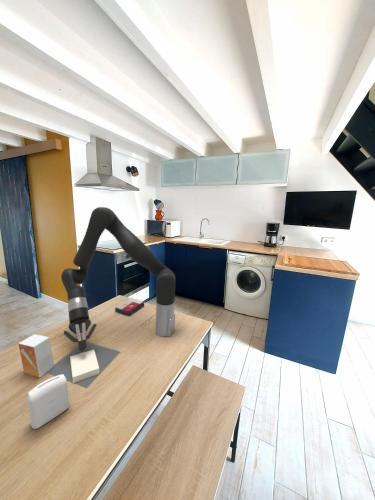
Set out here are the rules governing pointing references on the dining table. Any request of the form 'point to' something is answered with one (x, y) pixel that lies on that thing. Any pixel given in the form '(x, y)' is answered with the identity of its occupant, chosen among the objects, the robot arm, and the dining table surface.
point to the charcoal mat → (102, 353)
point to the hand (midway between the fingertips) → (83, 350)
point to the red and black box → (129, 307)
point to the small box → (36, 355)
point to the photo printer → (48, 400)
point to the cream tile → (84, 365)
